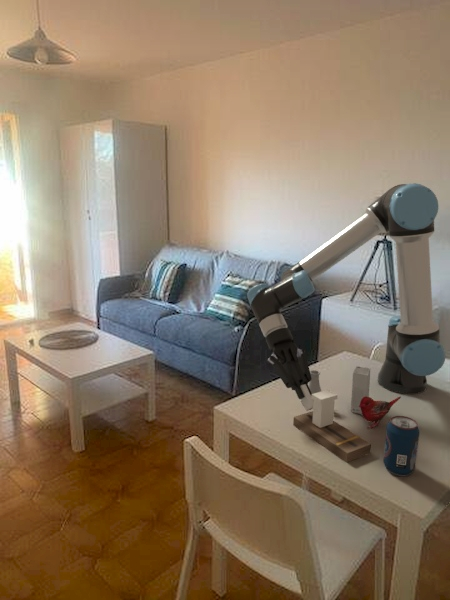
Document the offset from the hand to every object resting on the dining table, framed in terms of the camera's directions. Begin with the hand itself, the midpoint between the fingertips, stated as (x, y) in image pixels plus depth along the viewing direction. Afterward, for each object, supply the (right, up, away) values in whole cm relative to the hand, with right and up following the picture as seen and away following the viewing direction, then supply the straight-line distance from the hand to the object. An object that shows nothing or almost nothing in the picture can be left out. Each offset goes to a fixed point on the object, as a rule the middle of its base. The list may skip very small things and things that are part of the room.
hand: (311, 408), depth 124 cm
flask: (+3, -2, +15) cm, 15 cm away
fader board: (+4, -7, -5) cm, 9 cm away
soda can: (+17, -10, -18) cm, 26 cm away
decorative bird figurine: (+19, -5, +2) cm, 20 cm away
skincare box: (+16, -3, +11) cm, 20 cm away
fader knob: (+2, -3, -3) cm, 5 cm away
